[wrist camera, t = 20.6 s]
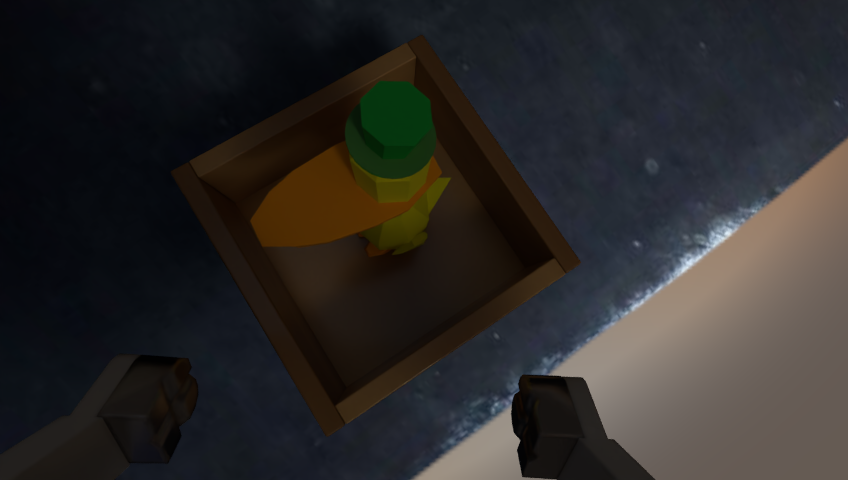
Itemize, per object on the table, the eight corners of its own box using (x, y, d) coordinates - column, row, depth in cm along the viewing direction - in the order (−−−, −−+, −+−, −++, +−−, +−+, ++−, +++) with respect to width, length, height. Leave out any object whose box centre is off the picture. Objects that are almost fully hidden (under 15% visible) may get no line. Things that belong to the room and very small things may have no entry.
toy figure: (329, 300, 20) (234, 279, 8) (296, 232, 20) (161, 119, 9) (456, 236, 21) (537, 133, 9) (422, 173, 21) (457, -5, 9)
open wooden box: (342, 409, 20) (326, 438, 15) (219, 203, 21) (168, 171, 16) (541, 274, 22) (582, 262, 17) (416, 91, 23) (422, 33, 18)
